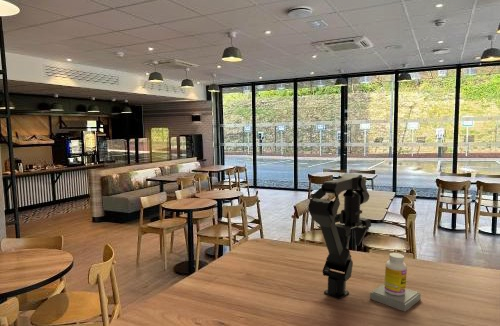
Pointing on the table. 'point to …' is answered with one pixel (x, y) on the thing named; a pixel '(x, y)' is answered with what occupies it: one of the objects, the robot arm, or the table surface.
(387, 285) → the supplement bottle
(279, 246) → the table surface
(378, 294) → the slate base
